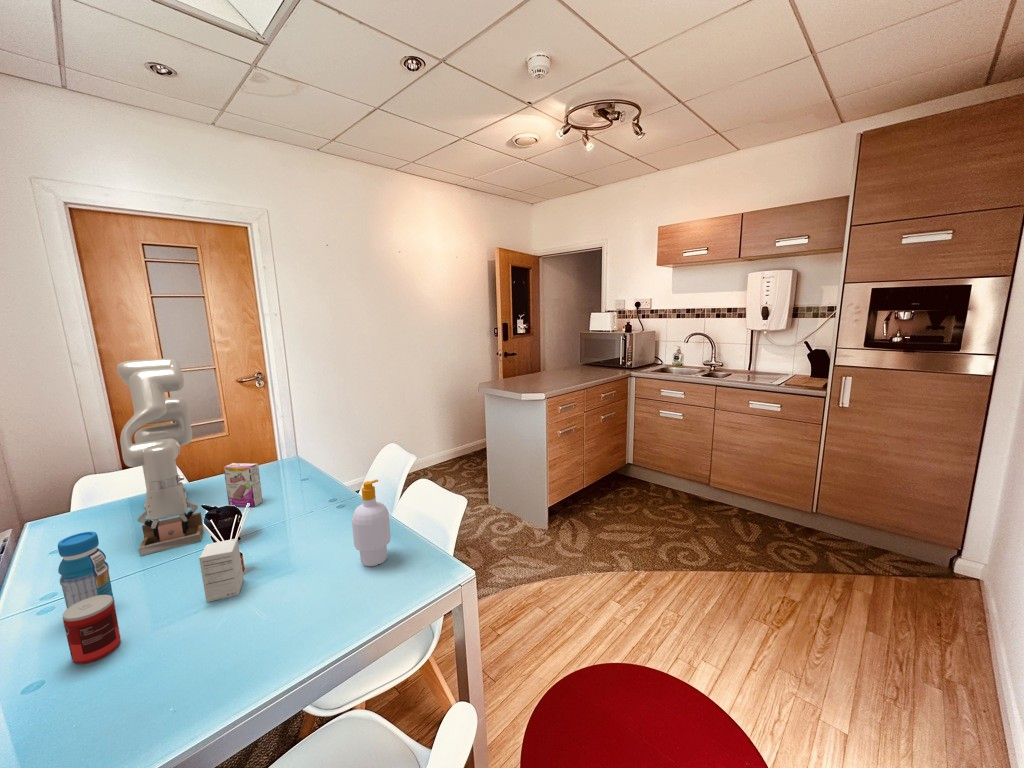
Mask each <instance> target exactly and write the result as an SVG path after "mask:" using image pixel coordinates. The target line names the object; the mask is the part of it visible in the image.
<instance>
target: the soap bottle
mask: <svg viewBox="0 0 1024 768" xmlns="http://www.w3.org/2000/svg"><path fill="white" fill-rule="evenodd" d="M378 482H379V479H374V480H371V481H370V480H369V481H365V482H363V483H362V485H363V487H362V488H361V500H362V504H359V505H358V506H357V507H356V508H355V509H354V512H353V515H352V519H351V526H352V537H353V546H354V548H355V549H356V550H357V551H359V560H360V563H361V565H363V566H366V567H376V566H378V564H379V565H381V564H383V563H384V562H385V561H386V560H387V558H388V548H387V546H388V544H389V543H390V542H391V526H390V525H391V523H390V513H389V509H388V508H387V506H386V505H385V504H384V503H383V502H381V501H377V498H376V489H375V488H376V487H375V486H374V485H373V484H374V483H378ZM382 562H383V563H382Z"/></svg>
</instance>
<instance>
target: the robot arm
mask: <svg viewBox="0 0 1024 768" xmlns="http://www.w3.org/2000/svg"><path fill="white" fill-rule="evenodd" d="M116 372H117V374H118V376H119V379H121V380H122V382H123V383H124V384H125V385H126V386H127V388H128V389H129V391H130V396H131V401H132V408H133V415H132V416H131V417H130V419H129V420H127V422H126V423H125V424H124V426H123V428H122V430H121V432H120V437H119V438H120V439H119V443H120V448H121V454H122V460H123V462H124V464H125V466H127V467H129V468H138V467H142V473H143V477H144V482H145V483H144V484H145V488H146V492H145V502H144V504H143V507H144V508H145V510H144V511H143V513H141V515H140V516H139V517H138V518H137V522H138V523H141V524H143V525H144V524H145V525H147V526H149V527H151V528H152V529H153V532H154V537H156V536H157V540H159V539H160V537H159V531H158V525H159V524H158V521H160V520H161V519H163V520H164V519H166V518H173V517H175V516H176V517H180V518H181V519H182V530H183V533H184V534H185V533H186V531H187V529H189V524H188V519H189V518H190V517H191V516H192V514H195V513H196V511H197V510H198V509H199V505H197V504H196V503H194V502H192V501H190V500H189V499H188V496H187V491H186V488H185V485H184V483H183V482H182V481H184V480H185V476H184V475H180V474H179V473H178V468H177V467H178V466H177V461H176V458H178V456H179V454H180V453H181V446H185V445H188V444H190V443H191V442H192V441H193V429H192V423H191V417H190V410H189V407H188V406H189V405H188V403H187V401H186V399H185V398H184V397H181V396H171V397H165V393H169V392H178V391H181V390H183V388H184V387H185V378H184V374H183V371H182V368H181V365H180V363H179V362H178V360H177V359H175V358H171V357H169V358H168V357H167V358H165V357H164V358H152V359H151V358H150V359H134V360H126V361H122V362H119V363H118V364H117V365H116ZM171 422H172V423H171ZM162 423H165V424H162ZM154 424H157V425H154ZM145 425H152V426H146V427H143V426H145ZM142 427H143V428H142ZM138 429H139V430H138ZM133 435H134V442H135V443H133V441H132V440H133ZM188 508H190V510H189V511H188ZM187 511H188V512H187Z"/></svg>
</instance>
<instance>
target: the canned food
mask: <svg viewBox="0 0 1024 768" xmlns="http://www.w3.org/2000/svg"><path fill="white" fill-rule="evenodd" d="M114 601H115V600H114ZM114 601H113V598H112V596H110V595H98V596H94V597H90V598H87V599H84V600H82V601H80V602H78V603H76V604H74V605H72V606H70V607H69V608H68V609H67V608H66V609H65V610H64V611H63V613H62V622H63V625H64V626H63V627H64V631H65V634H66V635H65V636H66V639H67V644H68V647H69V648H68V649H69V652H70V657H71V660H72V661H73V662H74V663H75V664H77V665H78V664H79V665H81V664H83V665H85V664H91V663H93V662H96V661H98V660H100V659H103V658H105V657H106V656H108V655H110V654H111V653H113V652H114V651H116V649H117V648H118V647H119V646H120V644H121V639H122V637H121V633H120V627H119V622H118V617H117V611H116V606H115V603H114Z"/></svg>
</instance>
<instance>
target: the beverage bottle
mask: <svg viewBox="0 0 1024 768" xmlns="http://www.w3.org/2000/svg"><path fill="white" fill-rule="evenodd" d="M99 544H100V543H99V536H98V533H97V532H95V531H84V532H79V533H76V534H72V535H69V536H67V537H65V538H63V539H61V540H60V541H58V543H57V550H58V554H59V556H60V557H61V558H62V560H61V561H60V563H59V566H58V569H57V571H58V572H57V573H58V574H59V575H60V577H59V584H60V586H61V589H62V592H63V598H64V601H65V607H66V609H68V608H69V607H70V606H72V605H74V604H76V603H78V602H80V601H82V600H84V599H87V598H90V597H94V596H98V595H110V596H112V598H113V601H114V604H115V603H116V601H115V596H114V593H113V588H112V582H111V579H110V578H111V576H110V571H109V569H110V567H109V564H108V562H107V561H106V559H107V556H106V554H105V553H104V551H103V550H101V549H100V548H99V546H100V545H99Z"/></svg>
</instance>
